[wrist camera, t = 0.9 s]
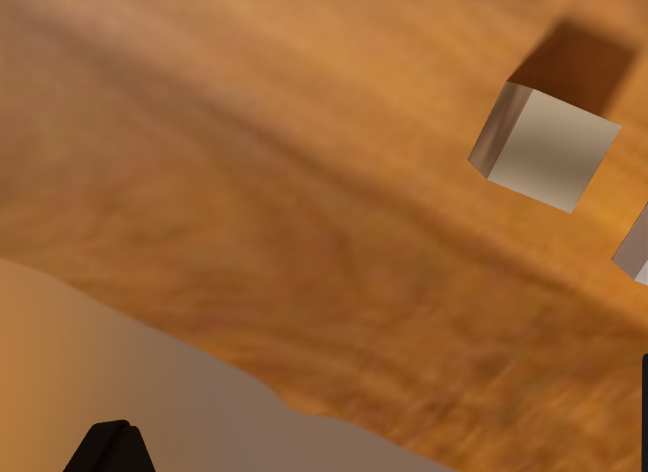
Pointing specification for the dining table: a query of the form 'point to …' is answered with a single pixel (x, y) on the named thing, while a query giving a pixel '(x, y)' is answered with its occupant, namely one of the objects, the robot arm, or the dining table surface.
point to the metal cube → (541, 146)
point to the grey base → (635, 250)
